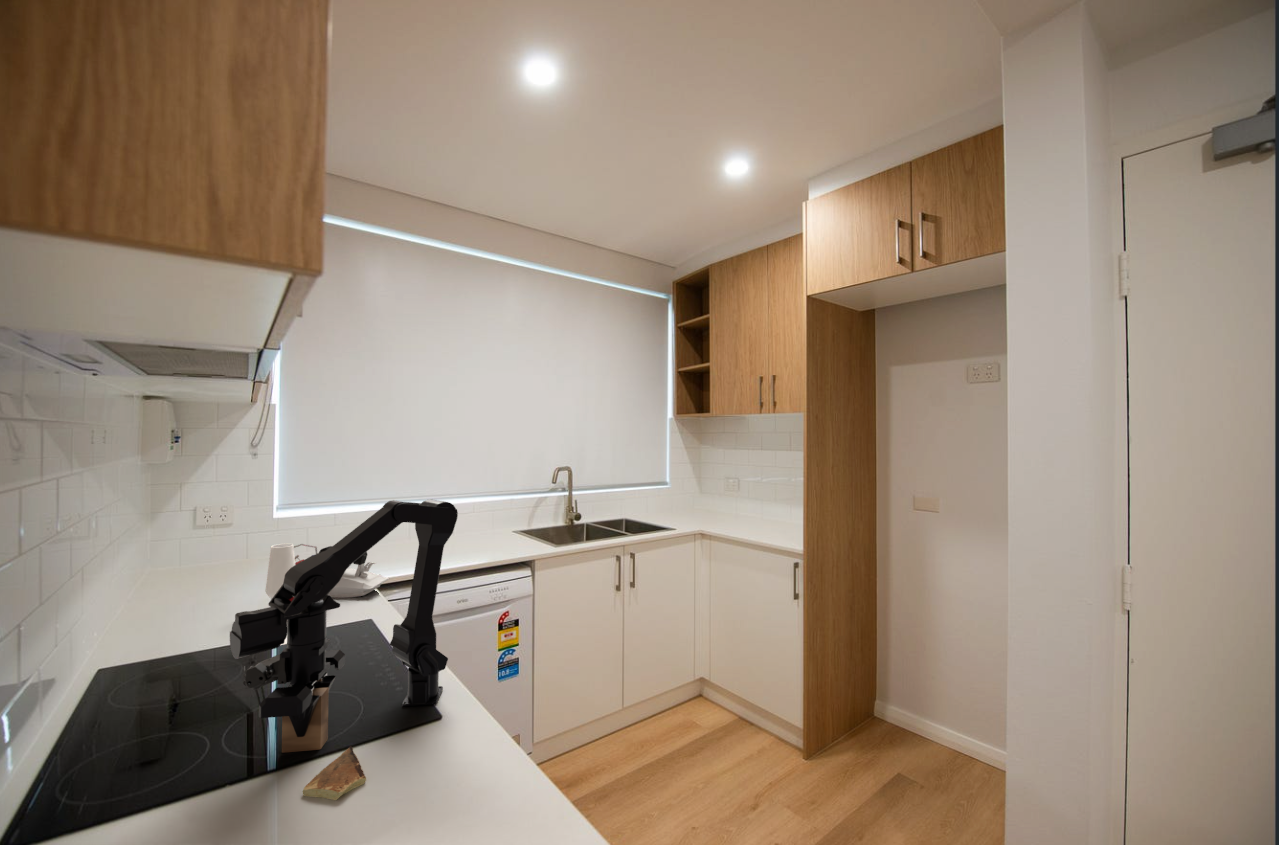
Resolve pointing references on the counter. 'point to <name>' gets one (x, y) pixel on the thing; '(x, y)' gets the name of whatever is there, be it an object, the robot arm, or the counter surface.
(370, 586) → the iron
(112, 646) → the counter surface
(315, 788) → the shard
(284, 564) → the champagne flute
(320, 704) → the walnut slab
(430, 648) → the robot arm
